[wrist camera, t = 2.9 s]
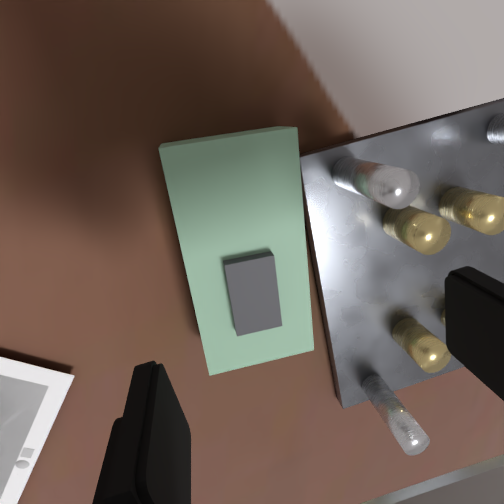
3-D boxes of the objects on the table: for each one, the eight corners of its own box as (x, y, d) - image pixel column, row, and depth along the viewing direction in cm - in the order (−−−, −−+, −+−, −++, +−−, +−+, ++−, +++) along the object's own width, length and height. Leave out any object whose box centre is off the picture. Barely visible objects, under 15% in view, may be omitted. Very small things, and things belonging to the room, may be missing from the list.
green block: (161, 143, 17) (157, 149, 14) (276, 126, 18) (301, 127, 14) (204, 338, 22) (210, 383, 18) (294, 317, 23) (317, 356, 19)
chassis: (293, 155, 19) (341, 171, 13) (523, 92, 20) (654, 82, 14) (337, 398, 26) (380, 474, 20) (504, 340, 27) (588, 397, 21)
